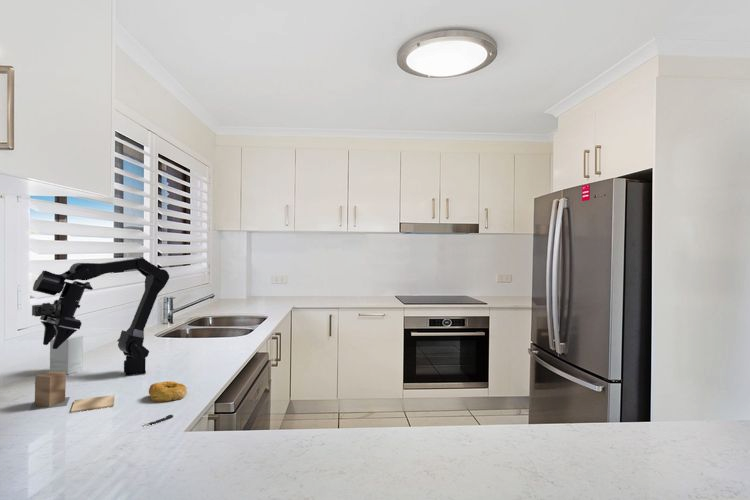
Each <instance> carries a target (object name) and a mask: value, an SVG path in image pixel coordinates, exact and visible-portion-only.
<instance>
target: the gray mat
mask: <svg viewBox="0 0 750 500" xmlns="http://www.w3.org/2000/svg"><path fill="white" fill-rule="evenodd" d="M70 398H71V396H65V402H62V403H59V404H57V405H54V406H51V407H42V406H35V400H34V401H33V403H32V404H31V406H30V407H29V409H28V412H31V411H37V410H46V409H53V408H62V407H66V406H68V403H69V400H70Z"/></svg>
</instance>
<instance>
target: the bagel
mask: <svg viewBox="0 0 750 500" xmlns="http://www.w3.org/2000/svg"><path fill="white" fill-rule="evenodd" d="M187 392H188V387H186V385H185V384H183V383H179V382H176V381H172V380H171V381H168V380H166V381H162V382H154V383H152V384H151V385H150V386H149V388H148V394H149V397H150V399H151V401H153V402H156V401H157V402H158V403H166V402H170V401H176V400H182V399H183V398H185V396H186V395H187V394H188V393H187ZM157 402H156V403H157Z"/></svg>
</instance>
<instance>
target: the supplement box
mask: <svg viewBox="0 0 750 500" xmlns="http://www.w3.org/2000/svg"><path fill="white" fill-rule="evenodd" d="M54 339H55V337H54V338H53V339H52V340H51V341H50V342H49V372H51V371H55V372H66V375H70V374H73V373H76V372H79V371H81V370H83V368H84V335H71V336H70V337H69V338H68V339H66V340H65V341H64V342H63V343H62V344H61V345H60V346H59V347H58V348H57V349H53V348H52V347H53V343H54Z"/></svg>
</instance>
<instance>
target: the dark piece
mask: <svg viewBox="0 0 750 500" xmlns="http://www.w3.org/2000/svg"><path fill="white" fill-rule="evenodd" d="M172 418H174V415H173V414H168V415H167V416H165V417H163V418H159V419H157V420H154V421H151V422H148V423H143V424H144V425H142V427H144V426H149V425H151V426H153V425H152V424H154V425H156V423H157V424H159V423H162V422H165V421H168V420H170V419H172ZM161 421H162V422H161ZM149 427H150V426H149Z"/></svg>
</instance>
